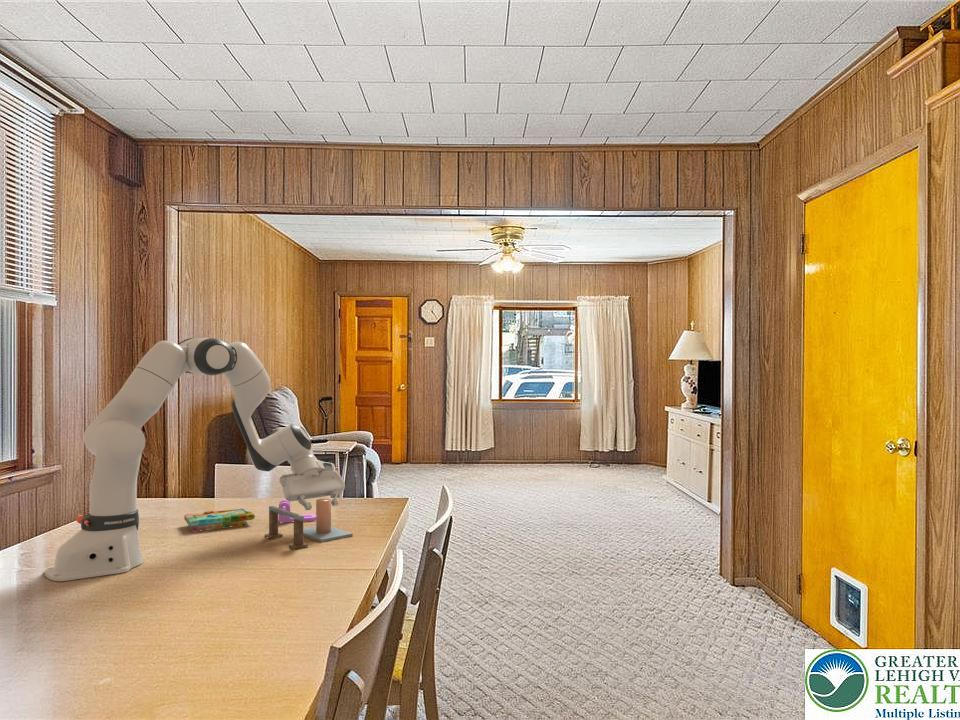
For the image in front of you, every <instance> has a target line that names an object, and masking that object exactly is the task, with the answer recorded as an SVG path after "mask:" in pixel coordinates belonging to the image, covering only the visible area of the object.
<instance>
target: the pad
mask: <svg viewBox="0 0 960 720" xmlns="http://www.w3.org/2000/svg"><path fill="white" fill-rule="evenodd" d="M303 535H304V536H303V537H306V538H308V537H309V539H310V540H314V541H317V542H319V543H324V542H330V541H334V540H340V539H345V538H348V537H349V538H350V537H353V535H354V534H353V533H352V532H350V531H346V530H343V529H341V528H337V527H334V526H332V525H331V532H330V533H325V534H319V533H316V526H311V527H306V528H303Z"/></svg>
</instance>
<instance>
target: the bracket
mask: <svg viewBox="0 0 960 720" xmlns="http://www.w3.org/2000/svg"><path fill="white" fill-rule="evenodd" d="M278 508H280V509H283V510H286V511H289V512H291V501H290V502H289V501H287V500H286V499H283V500H281V501H280V502H279V503H278ZM300 515H301V516H304V520H303V521H310V522H315V521H314V520H316V513H315V514H313V513H310V514H309V513H308V514H300ZM292 521H294V519H293V518H290V517H287V516H284V515H281V514H278V523H279V522H292Z"/></svg>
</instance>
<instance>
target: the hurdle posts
mask: <svg viewBox="0 0 960 720" xmlns="http://www.w3.org/2000/svg"><path fill="white" fill-rule="evenodd" d="M303 529H304V522H303V521H298V520H296V519H294V522H293V542H292V543H288V547H289V548H291V547H292V549H293V548H294V549H293V550H299V548H300V549H304V548H308V547H309V544H308V543H307V542H305V541H304V536H303ZM281 536H283V537H284V535H283V533H281V532H279V514H278V513H275V512H272V511H269V510H268V533H265V534H264V538H266V537H268V538H267V539H269V538H270V539H269V540H272V539H271V538H274V539H278V538H277V537H279V538H282V537H281Z"/></svg>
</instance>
